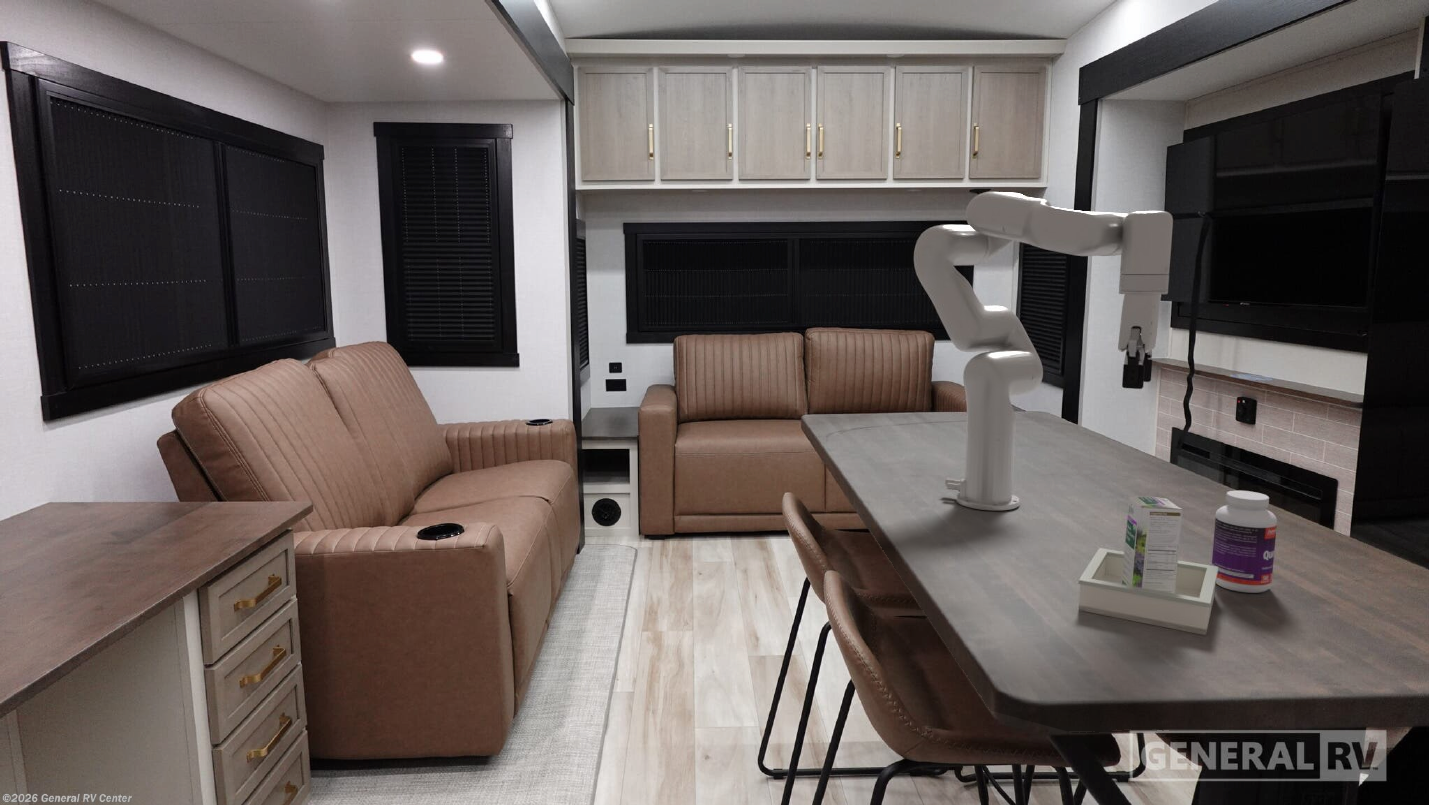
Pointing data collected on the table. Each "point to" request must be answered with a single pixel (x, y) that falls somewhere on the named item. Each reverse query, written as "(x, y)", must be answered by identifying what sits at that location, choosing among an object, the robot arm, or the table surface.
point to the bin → (1149, 594)
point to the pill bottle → (1244, 542)
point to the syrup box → (1152, 544)
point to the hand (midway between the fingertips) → (1136, 384)
